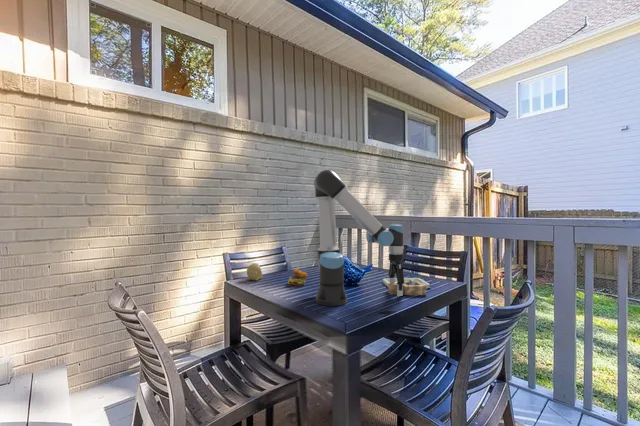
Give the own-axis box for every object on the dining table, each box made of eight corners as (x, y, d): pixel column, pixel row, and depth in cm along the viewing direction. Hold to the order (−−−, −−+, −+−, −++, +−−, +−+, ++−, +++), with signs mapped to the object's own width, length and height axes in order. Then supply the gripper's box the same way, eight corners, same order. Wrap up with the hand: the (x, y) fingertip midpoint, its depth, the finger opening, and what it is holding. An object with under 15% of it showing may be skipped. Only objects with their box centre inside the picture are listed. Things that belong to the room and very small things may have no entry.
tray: (390, 289, 181) (390, 285, 181) (382, 282, 198) (382, 278, 198) (430, 289, 183) (430, 284, 183) (419, 282, 200) (419, 278, 200)
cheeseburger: (287, 282, 198) (291, 266, 198) (304, 286, 199) (308, 270, 200) (287, 286, 188) (291, 269, 188) (305, 290, 189) (309, 273, 190)
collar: (392, 296, 168) (392, 286, 168) (386, 290, 179) (386, 281, 179) (426, 295, 170) (426, 286, 169) (418, 290, 181) (418, 281, 180)
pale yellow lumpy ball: (262, 286, 204) (267, 272, 212) (257, 274, 196) (262, 260, 204) (247, 284, 207) (253, 271, 214) (242, 273, 199) (248, 259, 206)
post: (409, 294, 172) (409, 281, 172) (405, 291, 177) (405, 279, 177) (418, 294, 172) (418, 281, 172) (414, 291, 177) (414, 278, 177)
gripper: (411, 256, 161) (410, 299, 162) (395, 250, 186) (395, 287, 187) (396, 257, 161) (396, 299, 161) (382, 250, 186) (382, 287, 186)
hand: (395, 293), depth 174 cm, fingers open, 13 cm apart
